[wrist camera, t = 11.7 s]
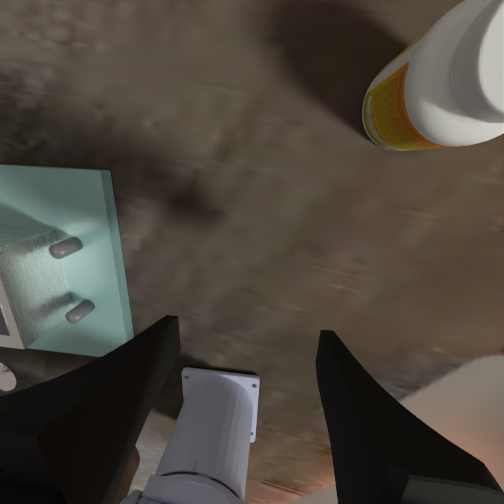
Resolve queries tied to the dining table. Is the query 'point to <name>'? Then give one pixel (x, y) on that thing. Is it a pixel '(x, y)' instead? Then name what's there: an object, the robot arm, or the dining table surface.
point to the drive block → (30, 286)
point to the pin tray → (75, 250)
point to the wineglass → (6, 378)
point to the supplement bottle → (443, 84)
